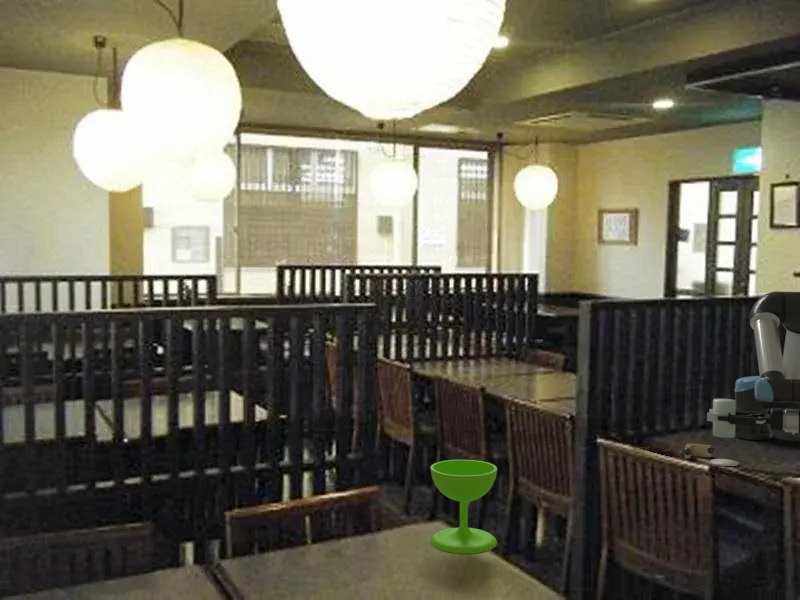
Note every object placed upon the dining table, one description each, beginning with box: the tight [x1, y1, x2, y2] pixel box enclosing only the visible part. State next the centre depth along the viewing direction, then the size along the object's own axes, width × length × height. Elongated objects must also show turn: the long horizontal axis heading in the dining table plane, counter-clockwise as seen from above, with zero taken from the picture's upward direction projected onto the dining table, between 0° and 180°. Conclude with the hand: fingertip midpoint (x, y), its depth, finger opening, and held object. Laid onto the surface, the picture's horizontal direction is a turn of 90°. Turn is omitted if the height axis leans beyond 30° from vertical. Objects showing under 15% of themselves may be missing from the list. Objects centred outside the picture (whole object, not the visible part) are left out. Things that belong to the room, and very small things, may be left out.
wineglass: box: [430, 459, 498, 555], centre depth 188 cm, size 16×16×18 cm
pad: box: [709, 458, 740, 467], centre depth 263 cm, size 9×9×1 cm
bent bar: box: [683, 442, 716, 460], centre depth 272 cm, size 9×10×4 cm
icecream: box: [638, 443, 675, 458], centre depth 263 cm, size 7×7×15 cm
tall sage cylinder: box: [712, 398, 736, 439], centre depth 263 cm, size 7×7×12 cm
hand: (708, 414), depth 265 cm, fingers closed on tall sage cylinder, 7 cm apart
